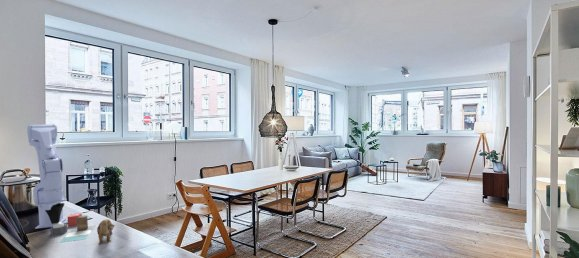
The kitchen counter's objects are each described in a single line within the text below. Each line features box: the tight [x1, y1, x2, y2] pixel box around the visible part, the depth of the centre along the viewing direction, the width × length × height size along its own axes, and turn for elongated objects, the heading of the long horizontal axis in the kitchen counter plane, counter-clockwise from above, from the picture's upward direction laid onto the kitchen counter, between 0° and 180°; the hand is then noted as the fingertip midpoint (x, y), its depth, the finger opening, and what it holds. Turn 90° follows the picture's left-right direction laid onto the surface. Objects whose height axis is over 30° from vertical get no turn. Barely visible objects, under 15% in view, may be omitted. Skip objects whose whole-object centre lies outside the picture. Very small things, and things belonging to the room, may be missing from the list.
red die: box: [67, 212, 83, 227], centre depth 130 cm, size 4×4×4 cm
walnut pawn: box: [76, 215, 89, 231], centre depth 124 cm, size 4×4×5 cm
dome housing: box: [49, 223, 68, 237], centre depth 120 cm, size 5×5×3 cm
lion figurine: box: [96, 218, 115, 245], centre depth 113 cm, size 15×5×9 cm, turn 35°
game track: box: [59, 225, 96, 243], centre depth 119 cm, size 15×8×1 cm, turn 20°
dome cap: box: [53, 222, 65, 228], centre depth 120 cm, size 4×4×4 cm
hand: (55, 223), depth 120 cm, fingers closed, pressing on dome cap
